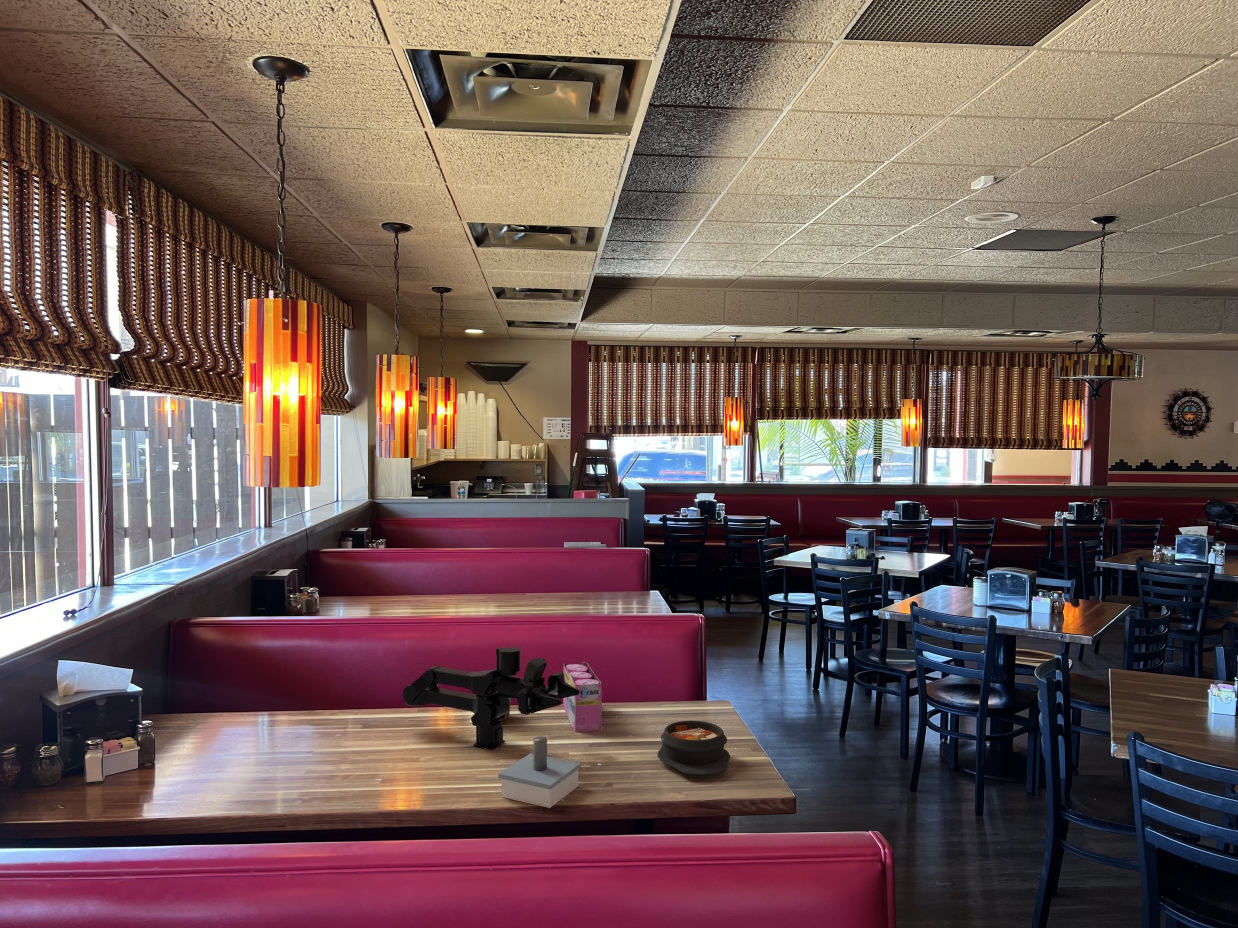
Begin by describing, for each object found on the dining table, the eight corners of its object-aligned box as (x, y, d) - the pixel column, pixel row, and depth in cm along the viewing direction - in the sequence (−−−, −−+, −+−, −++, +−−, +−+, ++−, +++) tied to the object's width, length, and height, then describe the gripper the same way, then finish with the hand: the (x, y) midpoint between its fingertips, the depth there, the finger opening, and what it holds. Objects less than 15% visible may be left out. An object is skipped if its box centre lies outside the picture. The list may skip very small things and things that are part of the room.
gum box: (561, 705, 260) (561, 662, 259) (586, 703, 261) (586, 660, 261) (574, 732, 236) (574, 684, 236) (602, 730, 238) (602, 682, 237)
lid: (498, 782, 194) (498, 743, 194) (531, 760, 206) (531, 724, 206) (550, 793, 188) (550, 754, 187) (580, 771, 200) (580, 734, 200)
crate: (501, 796, 194) (501, 777, 194) (531, 776, 206) (531, 757, 206) (549, 807, 188) (549, 788, 188) (578, 786, 200) (578, 767, 200)
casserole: (647, 746, 226) (647, 715, 225) (713, 741, 229) (713, 711, 229) (670, 785, 201) (670, 750, 201) (744, 779, 205) (745, 745, 204)
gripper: (498, 667, 213) (551, 675, 206) (538, 650, 230) (588, 657, 223) (498, 710, 213) (551, 720, 206) (538, 690, 230) (588, 698, 223)
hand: (570, 697), depth 215 cm, fingers open, 9 cm apart
